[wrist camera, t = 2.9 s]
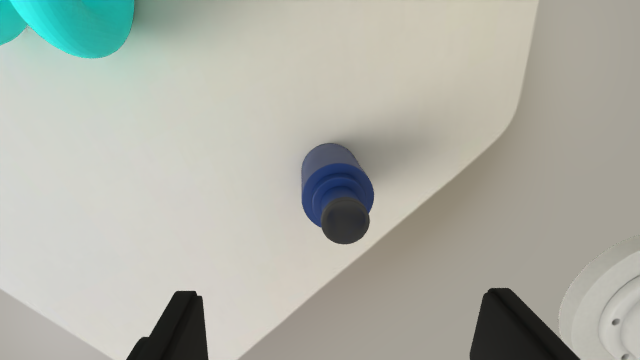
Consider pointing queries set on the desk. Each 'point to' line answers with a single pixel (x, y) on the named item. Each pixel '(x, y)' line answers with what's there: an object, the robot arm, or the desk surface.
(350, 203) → the bottle
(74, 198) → the desk surface
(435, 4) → the desk surface
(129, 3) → the pair of turquoise discs
